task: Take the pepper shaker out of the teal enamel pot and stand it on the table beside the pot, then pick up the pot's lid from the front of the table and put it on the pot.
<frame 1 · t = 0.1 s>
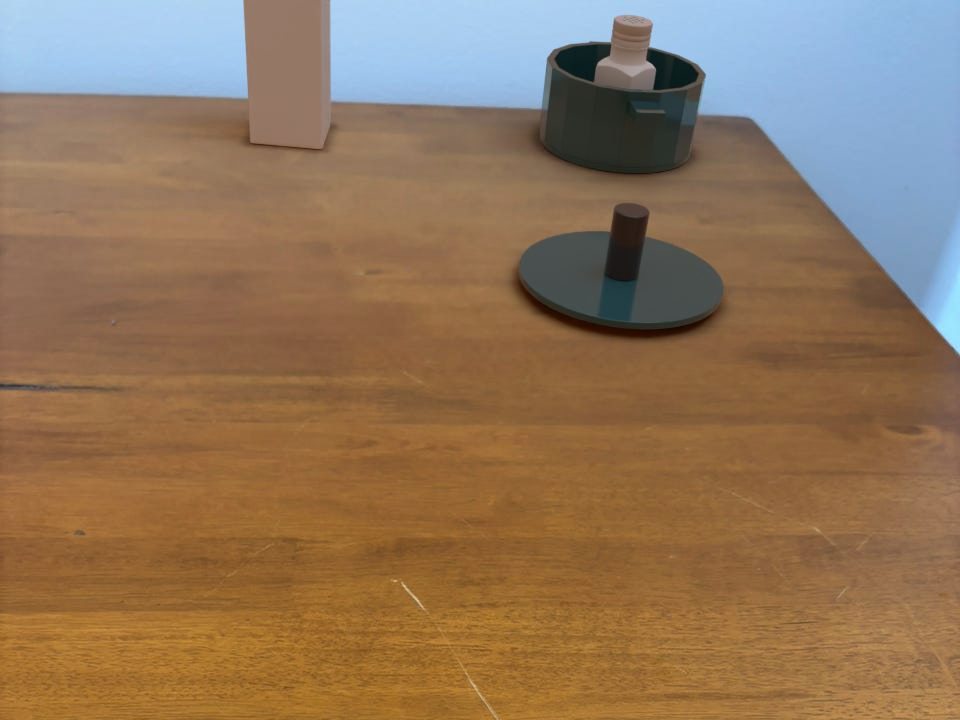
lid: (620, 280, 82), point 1 cm above the table
pepper shaker: (615, 141, 103), resting on pot
milk: (291, 136, 100), on the table
pot: (614, 144, 104), on the table
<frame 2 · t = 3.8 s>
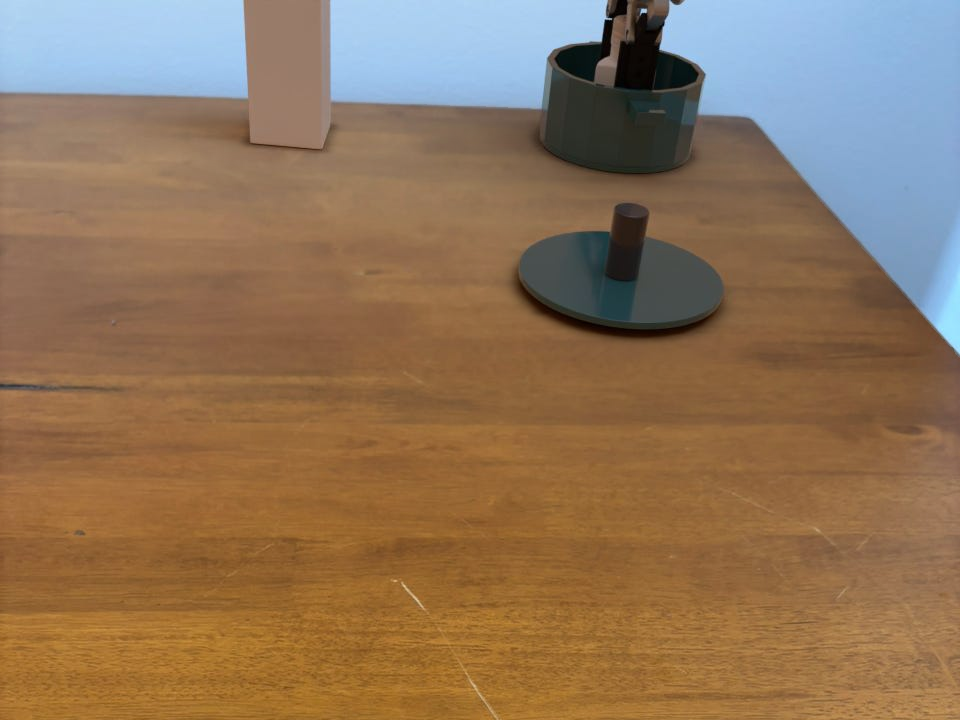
hand: (624, 80, 100), 5 cm above the table, tool pointing down, fingers closed on pepper shaker, 5 cm apart
pepper shaker: (615, 141, 103), resting on pot, touching gripper
everything else where it was.
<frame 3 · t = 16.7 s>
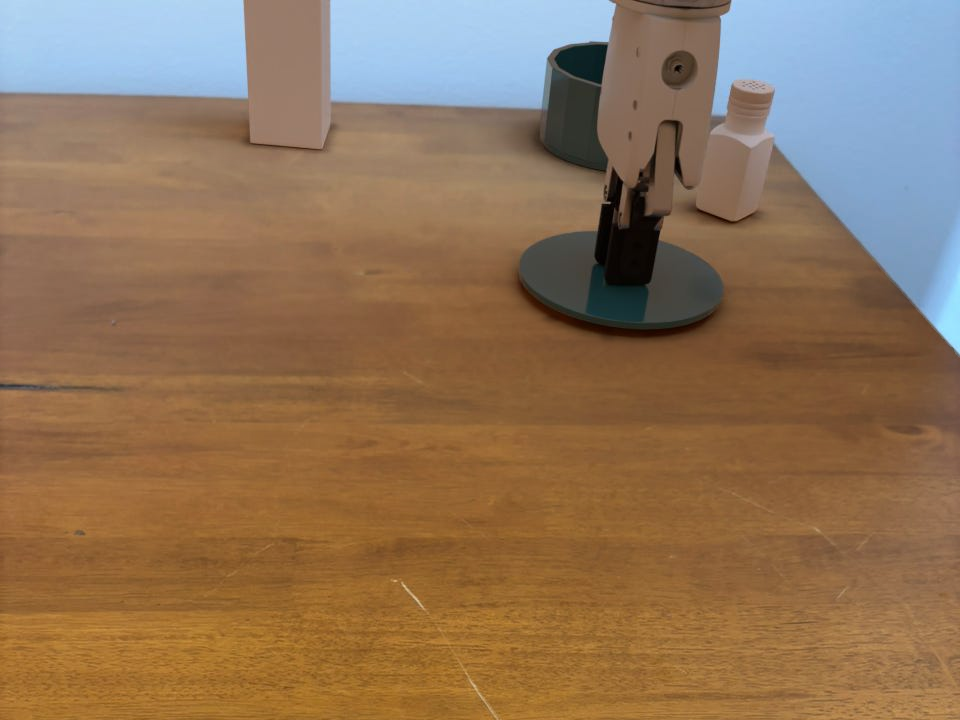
hand: (621, 269, 81), 1 cm above the table, tool pointing down, fingers closed on lid, 2 cm apart
lid: (620, 280, 82), point 1 cm above the table, touching gripper
pepper shaker: (725, 213, 94), on the table
everything else where it was.
when the fingers open (7 cm above the table, at t = 24.0 s): lid stays where it is, resting on pot.
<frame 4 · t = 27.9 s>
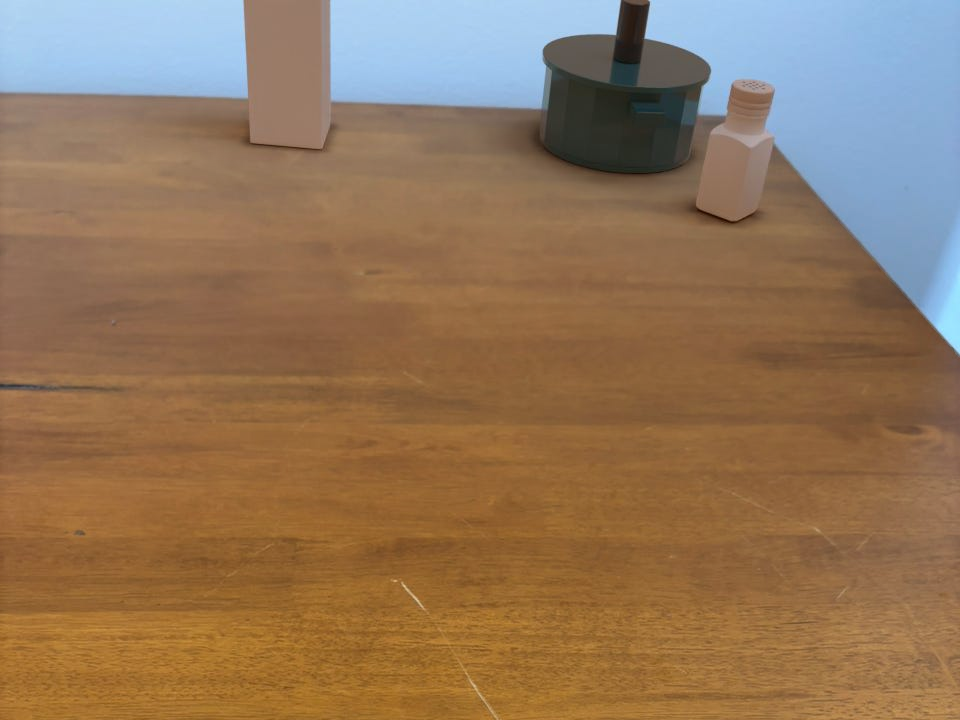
lid: (625, 65, 99), point 6 cm above the table, touching pot
everything else where it was.
at the end: pepper shaker inside the target area (0.0 cm from its centre), on the table; lid 0.1 cm off-centre on the pot, point 6.5 cm above the pot's base; lid tilted 0° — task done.
